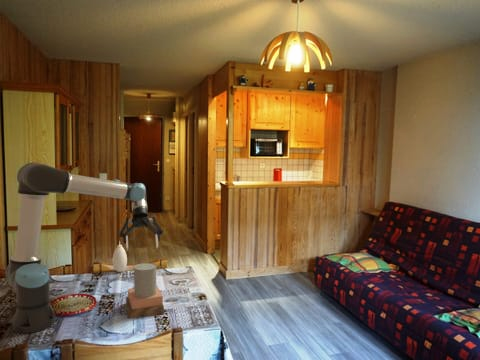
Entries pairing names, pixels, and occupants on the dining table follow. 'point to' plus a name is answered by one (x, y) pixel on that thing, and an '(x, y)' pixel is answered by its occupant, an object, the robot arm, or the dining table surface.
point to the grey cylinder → (145, 280)
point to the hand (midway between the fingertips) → (142, 248)
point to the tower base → (143, 310)
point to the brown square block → (145, 300)
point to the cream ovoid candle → (119, 258)
